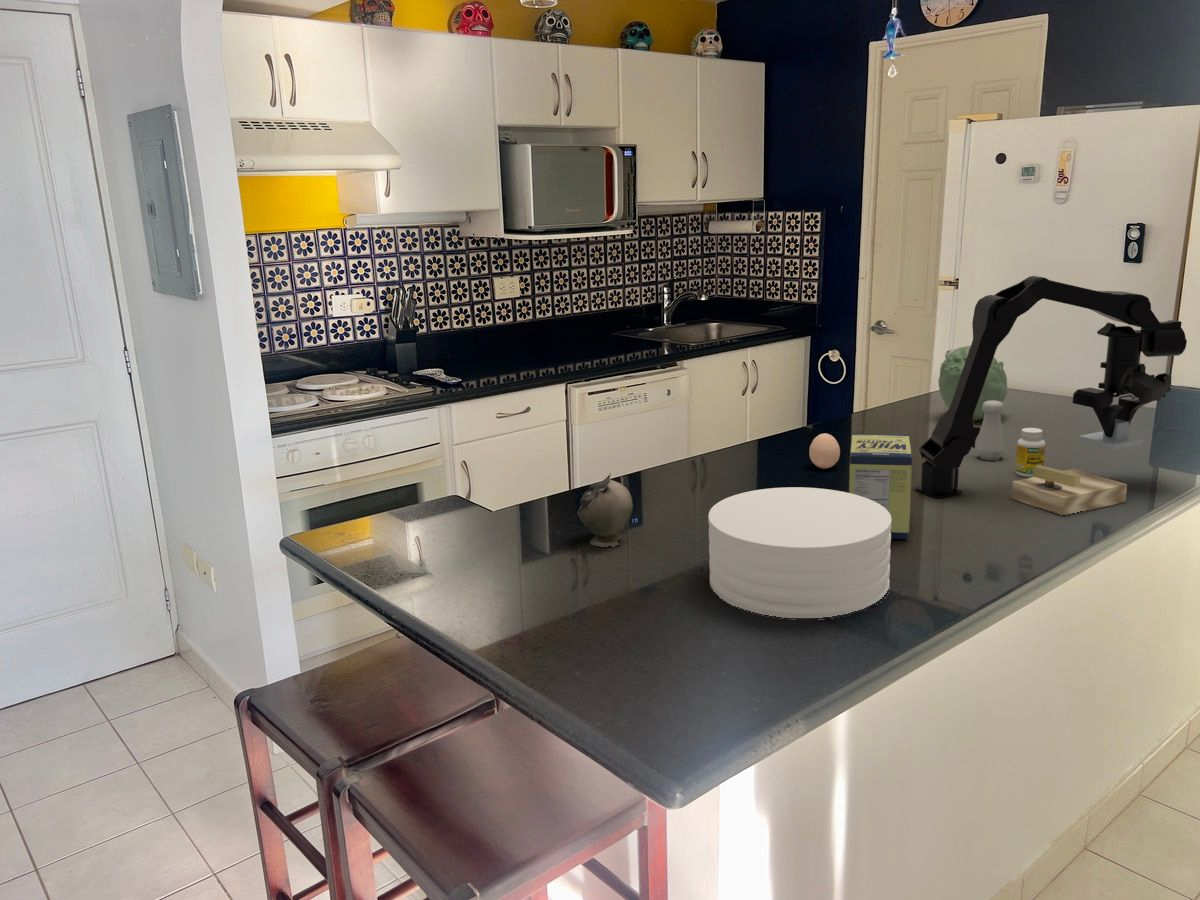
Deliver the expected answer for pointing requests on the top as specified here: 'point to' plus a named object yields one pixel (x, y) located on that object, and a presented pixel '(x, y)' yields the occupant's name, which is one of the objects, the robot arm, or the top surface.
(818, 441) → the egg
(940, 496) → the robot arm
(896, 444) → the protein box
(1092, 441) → the lid
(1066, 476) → the tan wooden bar
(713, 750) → the top surface
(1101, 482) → the birch box
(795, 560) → the plate stack
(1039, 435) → the supplement bottle
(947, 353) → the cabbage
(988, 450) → the salt shaker
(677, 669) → the top surface
